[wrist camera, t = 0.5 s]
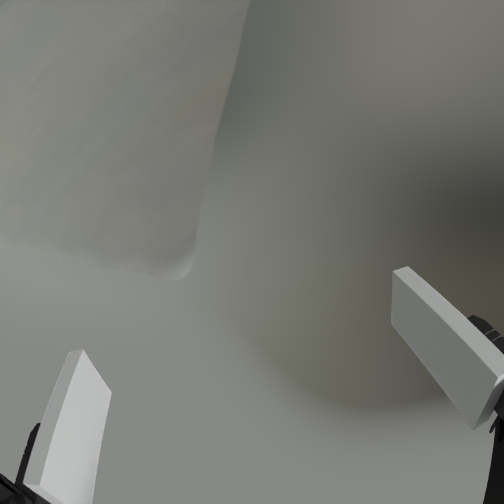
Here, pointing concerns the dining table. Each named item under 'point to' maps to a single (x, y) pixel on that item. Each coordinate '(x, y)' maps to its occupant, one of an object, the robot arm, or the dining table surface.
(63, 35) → the dining table surface
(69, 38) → the dining table surface
